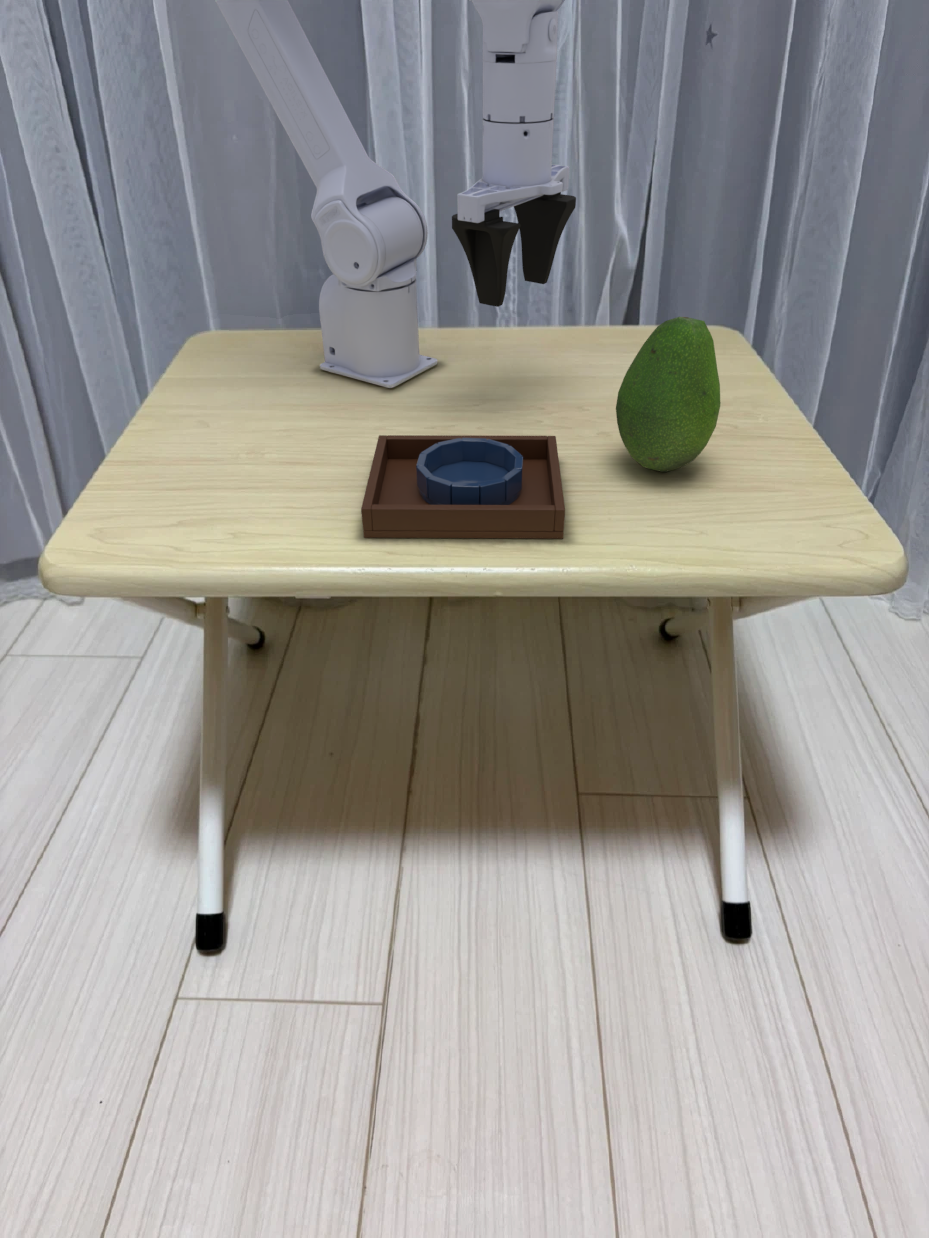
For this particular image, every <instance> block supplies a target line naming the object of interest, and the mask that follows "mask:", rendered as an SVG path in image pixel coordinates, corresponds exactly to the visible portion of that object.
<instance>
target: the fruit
mask: <svg viewBox="0 0 929 1238" xmlns="http://www.w3.org/2000/svg"><path fill="white" fill-rule="evenodd" d="M714 342H715V341H714V338H713V336H712V334H711V331H710V330H709V328H708V326H707V323H706V322H705V320H702V319H697V318H693V317H688V316H675V317H673V318H670V319H667V320H665V321H664V322H662V323H661V324H659V325H657V327H655V329H654V330H653V331H652V332H651V333H650V335H648V338H647V339H646V340H645V342H644V343H643V344H642V345H641V347H640V349H639V351H638V352H637V354H636V355H635V356H634V358H633V360H632V361H631V363H630V365H629V367H628V369H627V370H626V372H625V375H624V377H623V379H622V382H621V384H620V386H619V390H618V391H617V398H616V404H615V415H616V423H617V429H618V433H619V436H620V438H621V441H622V444H623V446H624V447H625V449H626V451H627V452H628V454H629V455H630V457H631V458H632V459H633V460H634V461H636V462H637V463H638V464H639V465H641V466H642V468H646V469H649V470H653V471H657V472H662V473H666V472H670V471H673V470H677V469H680V468H683V467H685V466H687V465H688V464H690V463H691V462H693V461H694V460H695V459H696V458H698V456H700V454H701V453H702V452H703V451H704V449H705V448H706V446H707V445H708V443H709V441H710V439H711V437H712V435H713V433H714V431H715V429H716V428H717V423H718V419H719V414H720V409H721V384H720V382H721V381H720V376H719V371H718V364H717V363H718V362H717V355H716V350H715V343H714Z"/></svg>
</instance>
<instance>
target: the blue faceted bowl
mask: <svg viewBox="0 0 929 1238" xmlns="http://www.w3.org/2000/svg"><path fill="white" fill-rule="evenodd" d="M416 471H417V486H418V488H419V493H420V495H421V497H422V498H423V499H424V500H425V501H426V502H427V503H429V504H430V505H510V504H511V503H513V502H514V501H515V500H516V499H517V498H518V497H519V495H520V493H521V490H522V477H523V457H522V455H521V454H520V453H519V452H518V451H516V450H515V449H514V448H513V447H512V446H509V445H508V444H505V443H501V442H498V441H495V440H491V439H486V438H462V439H461V438H457V439H452V440H447V441H443V442H438V443H437V444H434V445H432V446H431V447H429V448H427V449H426V450H424V451H423V452H421V454H419V458H418V461H417V465H416Z"/></svg>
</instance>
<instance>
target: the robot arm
mask: <svg viewBox="0 0 929 1238" xmlns="http://www.w3.org/2000/svg"><path fill="white" fill-rule="evenodd" d="M214 1H215V3H216V6H217V7H218V9H219V11H220V13H221V15H222V16H223V18H224V20H225V22H226V24H227V26H228V28H229V29H230V31H231V33H232V36H234V38H235V41H236V43H237V45H238V46H239V48H240V50H241V51H242V53H243V56H244V57H245V58H246V61H247V63H248V64H249V66H250V68H251V70H252V72H253V74H254V76H255V78H256V79H257V81H258V83H259V85H260V86H261V88H262V91H263V92H264V94H265V96H266V97H267V100H268V101H269V103H270V105H271V107H272V109H273V110H274V113H275V114H276V116H277V118H278V120H279V121H280V123H281V125H282V127H283V129H284V131H285V133H286V134H287V136H288V138H289V140H290V142H291V143H292V145H293V147H294V149H295V151H296V154H297V155H298V157H299V159H300V160H301V162H302V164H303V167H304V168H305V170H306V171H307V173H308V175H309V177H310V178H311V180H312V183H313V184H314V186H315V188H316V192H315V193H316V194H315V197H314V201H313V205H312V209H311V214H310V218H311V221H312V222H313V224H314V226H315V228H316V230H317V233H318V236H319V239H320V243H321V251H322V255H323V259H324V261H325V263H326V265H327V267H328V269H329V270H330V272H331V275H330V276H329V277H327V279H325V281H324V283H323V285H322V287H321V289H320V293H319V298H318V312H319V320H320V330H321V340H322V348H323V356H324V362H322V363H320V364H319V369H320V370H322V371H326V372H329V373H333V374H336V375H340V376H344V377H348V378H351V379H355V380H358V381H361V382H365V383H368V384H369V383H370V384H371V385H372V384H373V385H376V386H379V387H383V388H387V389H393V388H396V387H397V386H399V385H401V384H402V383H405V382H406V381H408V380H411V379H412V378H414V377H416V376H417V375H419V374H421V373H423V372H425V371H427V370H429V369H431V368H433V367H435V366H437V365H438V359H437V358H435V357H431V356H426V355H424V354H421V353H420V335H419V312H418V310H419V309H418V289H417V287H418V286H417V271H418V264H417V260H418V259H419V257H420V256H421V255H422V254H423V252H424V251H425V249H426V246H427V243H428V235H429V232H428V224H427V219H426V217H425V215H424V212H423V210H422V209H421V207H420V206H419V205H418V204H417V203H416V201H415V200H413V199H412V198H411V197H409V195H407V194H406V192H404V191H403V189H402V188H401V186H400V184H399V183H398V181H397V179H396V177H395V176H394V174H392V172H390V171H388V170H387V169H386V168H384V167H383V166H381V165H379V164H378V163H377V162H375V161H373V160H372V159H371V158H370V157H369V155H368V153H367V151H366V149H365V147H364V145H363V143H362V141H361V140H360V138H359V136H358V134H357V131H356V129H355V128H354V126H353V124H352V122H351V120H350V118H349V116H348V115H347V112H346V111H345V109H344V107H343V104H342V103H341V101H340V99H339V96H338V95H337V93H336V91H335V89H334V88H333V87H334V86H333V85H332V83H331V81H330V80H329V77H328V75H327V74H326V72H325V70H324V67H323V66H322V64H321V62H320V60H319V58H318V56H317V54H316V52H315V50H314V48H313V46H312V45H311V43H310V40H309V39H308V37H307V35H306V32H305V31H304V29H303V27H302V25H301V23H300V21H299V19H298V17H297V16H296V13H295V11H294V10H293V8H292V6H291V4H290V2H289V0H214ZM468 1H469V2H472V5H473V8H474V9H475V11H476V13H478V15H479V17H480V20H481V24H482V119H481V120H482V124H481V125H482V127H481V128H482V132H481V133H482V136H481V138H482V139H481V140H482V141H481V143H482V147H481V148H482V149H481V150H482V152H481V154H482V155H481V157H482V163H481V168H482V170H481V175H482V176H481V178H479V180H477V181H476V182H475V183H474V184H472V185H471V186H470V187H469V188H468V189H466V190H464V191H462V192H459V193H457V194H456V195H457V196H456V197H457V201H456V203H457V205H456V207H457V213H455V214H453V215H452V216H451V229H452V230H453V233H454V234H455V236H456V238H457V240H458V241H459V243H460V245H461V247H462V249H463V251H464V253H465V256H466V258H467V261H468V265H469V267H470V271H471V275H472V279H473V283H474V287H475V291H476V296H477V299H478V303H479V304H482V305H487V306H490V307H497V308H499V307H501V306H503V304H504V300H505V298H506V297H505V296H506V292H507V282H508V272H509V271H508V270H509V263H510V258H511V254H512V250H513V247H514V244H515V240H516V237H517V235H518V232H519V235H520V242H521V244H520V245H521V263H522V264H521V265H522V273H523V278H524V281H525V282H529V283H535V284H541V285H545V284H547V283H548V280H549V277H550V273H551V271H552V266H553V263H554V259H555V255H556V252H557V249H558V245H559V242H560V240H561V236H562V235H563V232H564V229H565V227H566V225H567V224H568V222H569V219H570V217H571V215H572V214H573V213H574V210H575V209H576V206H577V204H576V203H577V197H576V196H574V195H569V194H563V192H566V191H568V190H569V182H570V181H569V180H570V165H563V164H553V145H554V124H555V123H554V122H555V105H556V104H555V103H556V101H555V100H556V82H557V80H556V79H557V59H558V48H557V47H558V46H557V45H558V27H559V25H558V24H559V9H560V8H561V7H562V5H563V4H564V3H565V0H468ZM510 208H513V209H514V212H515V216H516V220H517V222H514V221H513V222H512V221H506V220H504V217H503V216H500V212H502V211H506V210H508V209H510Z"/></svg>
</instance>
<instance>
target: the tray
mask: <svg viewBox="0 0 929 1238" xmlns="http://www.w3.org/2000/svg"><path fill="white" fill-rule="evenodd" d="M457 438H461V439H462V438H486V439H491V440H495V441H498V442H501V443H505V444H508V445H509V446H512V447H513V448H514V449H515V450H516V451H518V452H519V453H520V454H521V455H522V457H523V477H522V490H521V493H520V495H519V497H518V498H517V499H516V500H515V501H514V502H513V503H511V504H510V505H430V504H429V503H427V502H426V501H425V500H424V499H423V498H422V497H421V495H420V493H419V488H418V486H417V471H416V465H417V461H418V458H419V454H421V452H423V451H424V450H426V449H427V448H429V447H431V446H432V445H434V444H437V443H438V442H443V441H447V440H452V439H457ZM362 499H363V500H362V505H361V508H360V511H361V522H362V523H361V524H362V534H363V538H364V539H365V538H367V539H370V538H371V539H372V538H374V539H375V538H376V539H377V538H382V539H384V538H385V539H386V538H387V539H390V538H391V539H392V538H394V539H395V538H396V539H397V538H398V539H401V538H402V539H549V540H550V539H556V540H557V539H559V540H560V539H564V533H565V518H566V506H565V505H566V504H565V500H564V490H563V483H562V474H561V467H560V460H559V452H558V444H557V436H556V435H465V434H464V435H460V434H459V435H450V434H449V435H447V434H446V435H444V434H443V435H442V434H441V435H439V434H438V435H433V434H430V435H428V434H427V435H426V434H425V435H423V434H422V435H417V434H414V435H413V434H412V435H411V434H409V435H408V434H407V435H405V434H404V435H403V434H402V435H400V434H395V435H394V434H393V435H392V434H390V435H389V434H387V435H386V434H383V435H381V434H379V435H378V438H377V442H376V446H375V449H374V453H373V458H372V463H371V467H370V471H369V474H368V479H367V483H366V487H365V492H364V496H363V498H362Z"/></svg>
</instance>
